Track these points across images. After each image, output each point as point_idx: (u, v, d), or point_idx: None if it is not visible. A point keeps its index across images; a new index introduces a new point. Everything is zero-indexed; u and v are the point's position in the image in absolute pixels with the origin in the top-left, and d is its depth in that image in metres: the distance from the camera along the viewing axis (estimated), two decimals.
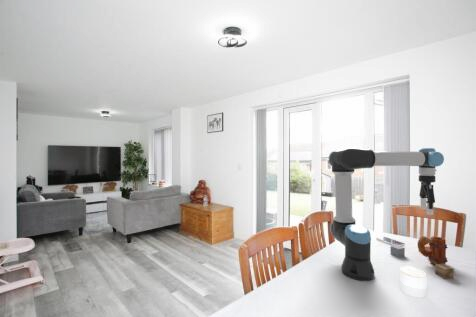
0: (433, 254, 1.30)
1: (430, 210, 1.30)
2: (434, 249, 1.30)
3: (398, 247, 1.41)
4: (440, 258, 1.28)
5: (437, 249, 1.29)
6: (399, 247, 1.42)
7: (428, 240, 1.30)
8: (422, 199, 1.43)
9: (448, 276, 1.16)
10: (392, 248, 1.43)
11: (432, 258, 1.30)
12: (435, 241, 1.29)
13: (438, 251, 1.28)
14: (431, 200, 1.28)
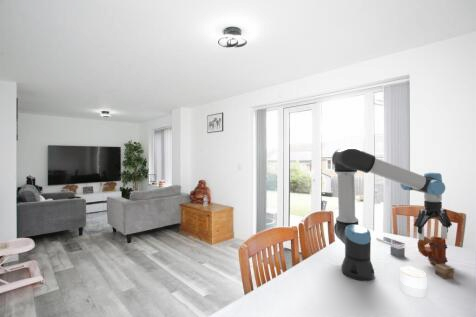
0: (433, 254, 1.30)
1: (420, 235, 1.31)
2: (434, 249, 1.30)
3: (398, 247, 1.41)
4: (440, 258, 1.28)
5: (437, 249, 1.29)
6: (399, 247, 1.42)
7: (428, 240, 1.30)
8: (442, 227, 1.32)
9: (448, 276, 1.16)
10: (392, 248, 1.43)
11: (432, 258, 1.30)
12: (435, 241, 1.29)
13: (438, 251, 1.28)
14: (415, 224, 1.31)
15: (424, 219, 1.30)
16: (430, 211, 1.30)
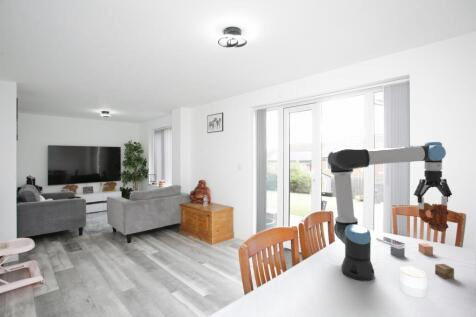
0: (434, 220, 1.29)
1: (420, 204, 1.30)
2: (435, 215, 1.29)
3: (398, 247, 1.41)
4: (441, 224, 1.27)
5: (438, 215, 1.28)
6: (399, 247, 1.42)
7: (429, 206, 1.30)
8: (442, 197, 1.32)
9: (448, 276, 1.16)
10: (392, 248, 1.43)
11: (433, 224, 1.29)
12: (436, 207, 1.29)
13: (439, 217, 1.28)
14: (415, 193, 1.30)
15: (424, 188, 1.30)
16: (430, 180, 1.29)
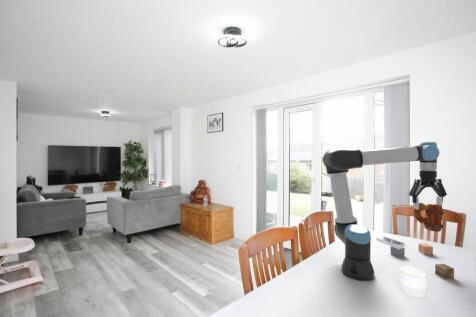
0: (429, 220, 1.29)
1: (415, 204, 1.30)
2: (430, 215, 1.29)
3: (398, 247, 1.41)
4: (436, 224, 1.27)
5: (433, 215, 1.28)
6: (399, 247, 1.42)
7: (424, 206, 1.30)
8: (437, 197, 1.31)
9: (448, 276, 1.16)
10: (392, 248, 1.43)
11: (428, 224, 1.29)
12: (431, 207, 1.29)
13: (434, 217, 1.28)
14: (410, 193, 1.30)
15: (419, 188, 1.30)
16: (425, 180, 1.29)
